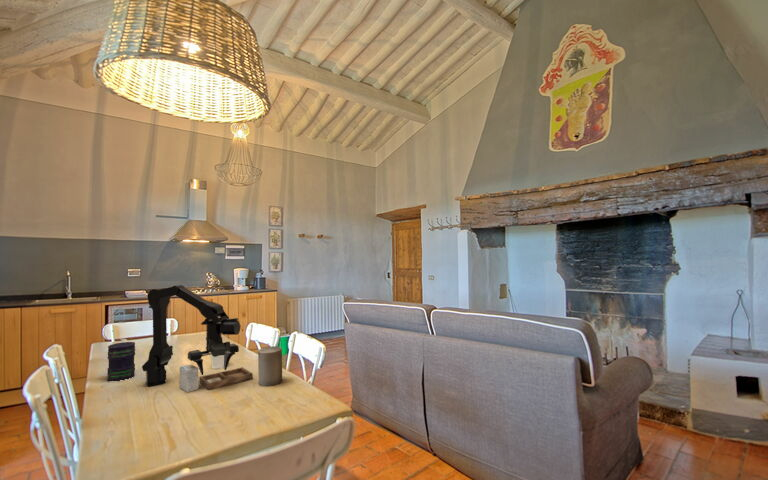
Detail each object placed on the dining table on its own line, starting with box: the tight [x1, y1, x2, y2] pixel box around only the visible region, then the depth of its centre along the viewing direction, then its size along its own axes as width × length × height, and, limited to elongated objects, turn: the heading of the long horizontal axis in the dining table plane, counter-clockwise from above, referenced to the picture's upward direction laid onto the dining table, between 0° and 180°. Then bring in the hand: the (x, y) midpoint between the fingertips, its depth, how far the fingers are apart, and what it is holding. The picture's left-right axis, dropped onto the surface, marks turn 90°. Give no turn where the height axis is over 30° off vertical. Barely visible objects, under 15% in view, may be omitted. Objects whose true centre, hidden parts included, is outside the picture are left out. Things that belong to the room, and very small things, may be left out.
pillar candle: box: [257, 345, 283, 387], centre depth 148 cm, size 10×10×15 cm
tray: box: [198, 367, 254, 391], centre depth 150 cm, size 18×12×2 cm, turn 132°
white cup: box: [210, 354, 224, 370], centre depth 170 cm, size 8×8×10 cm
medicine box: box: [179, 363, 200, 393], centre depth 142 cm, size 8×4×9 cm, turn 49°
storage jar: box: [107, 341, 136, 382], centre depth 156 cm, size 10×10×15 cm
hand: (214, 372), depth 147 cm, fingers open, 9 cm apart
